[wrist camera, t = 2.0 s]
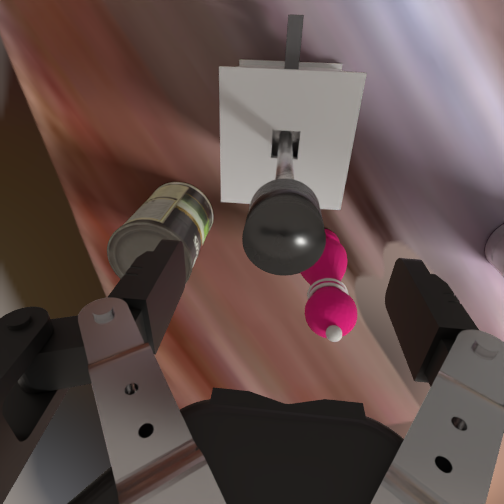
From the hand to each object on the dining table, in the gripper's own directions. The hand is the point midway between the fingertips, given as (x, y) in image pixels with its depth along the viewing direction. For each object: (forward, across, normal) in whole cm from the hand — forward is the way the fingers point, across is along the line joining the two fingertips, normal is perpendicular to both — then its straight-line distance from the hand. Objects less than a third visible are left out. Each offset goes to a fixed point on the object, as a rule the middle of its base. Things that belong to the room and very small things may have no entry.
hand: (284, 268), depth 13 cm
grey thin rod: (+24, 0, 0) cm, 24 cm away
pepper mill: (+36, -7, +19) cm, 41 cm away
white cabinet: (+35, 0, -2) cm, 35 cm away
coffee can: (+35, +15, +15) cm, 41 cm away
